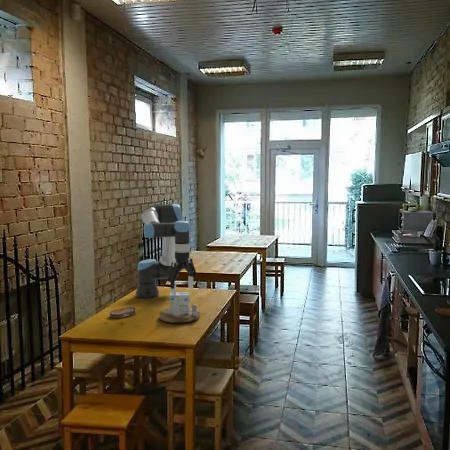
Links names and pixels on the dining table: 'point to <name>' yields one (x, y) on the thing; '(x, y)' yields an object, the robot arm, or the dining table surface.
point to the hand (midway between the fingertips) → (182, 291)
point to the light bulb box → (179, 303)
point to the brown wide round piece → (180, 315)
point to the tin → (122, 312)
